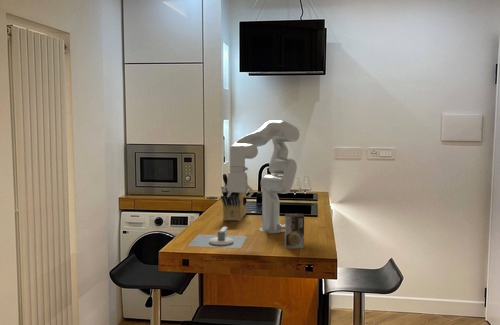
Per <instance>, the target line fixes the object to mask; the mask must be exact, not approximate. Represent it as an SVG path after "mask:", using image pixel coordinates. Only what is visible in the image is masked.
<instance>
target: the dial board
mask: <svg viewBox="0 0 500 325" xmlns="http://www.w3.org/2000/svg"><path fill="white" fill-rule="evenodd" d="M215 237H218V234H197V235H196V236H195V237H194V238H193V240H191V241H190V242H189V244H188V245H187V247H197V248H198V247H199V248H200V247H201V248H223V249H224V248H227V249H242V247H243V245H244V243H245V241H246V240H247V237H248V236H246V235H227V236H226V237H228V238H232V239H233V243H232V244H230V245H212V244H210V243H209V239H211V238H215Z"/></svg>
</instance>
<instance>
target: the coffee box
mask: <svg viewBox="0 0 500 325" xmlns="http://www.w3.org/2000/svg"><path fill="white" fill-rule="evenodd" d="M284 225H285V229H284V247H285V249H305V215H304V213H285V214H284Z"/></svg>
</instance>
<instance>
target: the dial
mask: <svg viewBox="0 0 500 325" xmlns="http://www.w3.org/2000/svg"><path fill="white" fill-rule="evenodd" d="M217 235H218V237H215V238H211V239H209V243H210V244H212V245H230V244H232V243H233V239H232V238H228V237H226V236H228V226H222V228H221V229H220V230H218V231H217Z"/></svg>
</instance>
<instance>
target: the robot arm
mask: <svg viewBox="0 0 500 325" xmlns="http://www.w3.org/2000/svg"><path fill="white" fill-rule="evenodd" d="M300 135H301V134H300V130H299V129H298V127H297V126H295V125H293V124H292V123H289V122H287V121H285V120H268V121H267V122H264V124H263V125H262V126H260V127H259V128H258V129H257V130H256V131H254V132H252V133H249V134H247V135H244V136H243V137H240V138H238V139H237V140H236V141H235V142H234V143H232V144H231V145H230V147H229V172H228V174H227V178H228V179H227V185H226V186H222V187H223V188H222V189H221V192H222V191H223V192H224V194H225V195H226V196H227V197H228V203H229V205H231V193H232V192H242V193H243V195H244V198H243V205H244V206H245V204H246V205H247V200H248V199H247V197H249V195H251V193H252V192H253V191H254V189H253V188H252V187H251V186H249V185H248V183H249V182H248V173H247V172H246V171H249V169H248V167H247V166H246V165H245V164H246V160H248V159H249V160H252V159H255V158H256V157H257V156H258V154H259V149H258V147H261V146H263V147H264V146H265V145H267V143H269V142H270V141H271V142H272V144H273V152H272V156H271V158H270V161H269V164H268V165H269V166H268V171H269V173H271V174H267V175H264V176H262V178H261V179H260V188H261V197H262V198H261V199H262V200H261V201H262V202H261V203H262V205H261V213H262V214H261V227H260V228H259V230H258V231H259V232H263V233H264V232H265V233H266V232H267V233H266V234H267V235H268V234H269V235H270V234H273V235H274V234H280V233H282V232H283V230H285V224H281V223H280V198H279V195H278V194H288V193H289V192H290V191H291V190H292V188H293V183H294V180H295V177H296V175H297V169H298V168H297V162H296V160H295V159H294V158H288V156H289V148H288V146H287V145H286V143H295V142H298V140H299V139H300ZM226 188H227V191H228V192H229V193H228V192H227V191H226V190H225V189H226ZM248 190H249V191H248ZM247 191H248V192H247Z"/></svg>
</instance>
